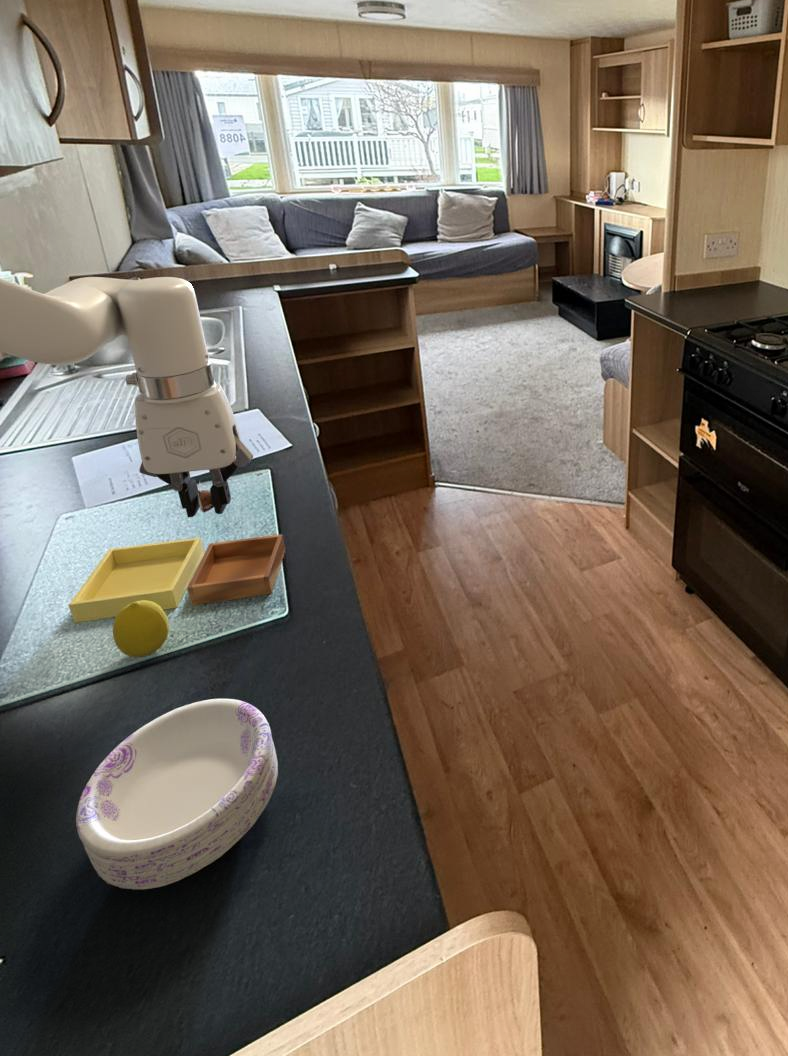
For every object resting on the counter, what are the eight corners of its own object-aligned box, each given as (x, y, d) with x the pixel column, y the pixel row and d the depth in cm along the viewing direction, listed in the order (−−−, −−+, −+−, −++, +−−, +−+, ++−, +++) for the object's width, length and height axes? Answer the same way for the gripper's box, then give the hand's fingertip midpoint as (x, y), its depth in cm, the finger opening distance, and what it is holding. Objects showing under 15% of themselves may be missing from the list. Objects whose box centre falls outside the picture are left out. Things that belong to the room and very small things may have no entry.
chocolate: (219, 513, 85) (213, 486, 83) (199, 518, 84) (192, 491, 82) (219, 502, 87) (212, 476, 86) (199, 506, 86) (193, 480, 85)
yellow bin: (74, 623, 86) (68, 605, 85) (114, 565, 97) (109, 548, 96) (177, 607, 89) (172, 590, 88) (204, 553, 100) (200, 537, 99)
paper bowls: (99, 803, 64) (76, 745, 61) (268, 726, 72) (255, 671, 69) (97, 957, 52) (69, 894, 49) (299, 844, 60) (284, 784, 57)
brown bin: (191, 605, 89) (186, 588, 88) (213, 559, 99) (209, 543, 98) (271, 593, 92) (268, 576, 91) (285, 550, 101) (282, 533, 100)
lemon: (158, 632, 85) (142, 582, 82) (184, 646, 83) (170, 596, 80) (112, 661, 80) (95, 610, 77) (140, 678, 78) (122, 625, 75)
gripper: (86, 398, 73) (126, 534, 80) (242, 387, 77) (269, 518, 84) (115, 374, 80) (150, 501, 87) (257, 365, 84) (281, 488, 90)
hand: (208, 508), depth 85 cm, fingers closed on chocolate, 2 cm apart
